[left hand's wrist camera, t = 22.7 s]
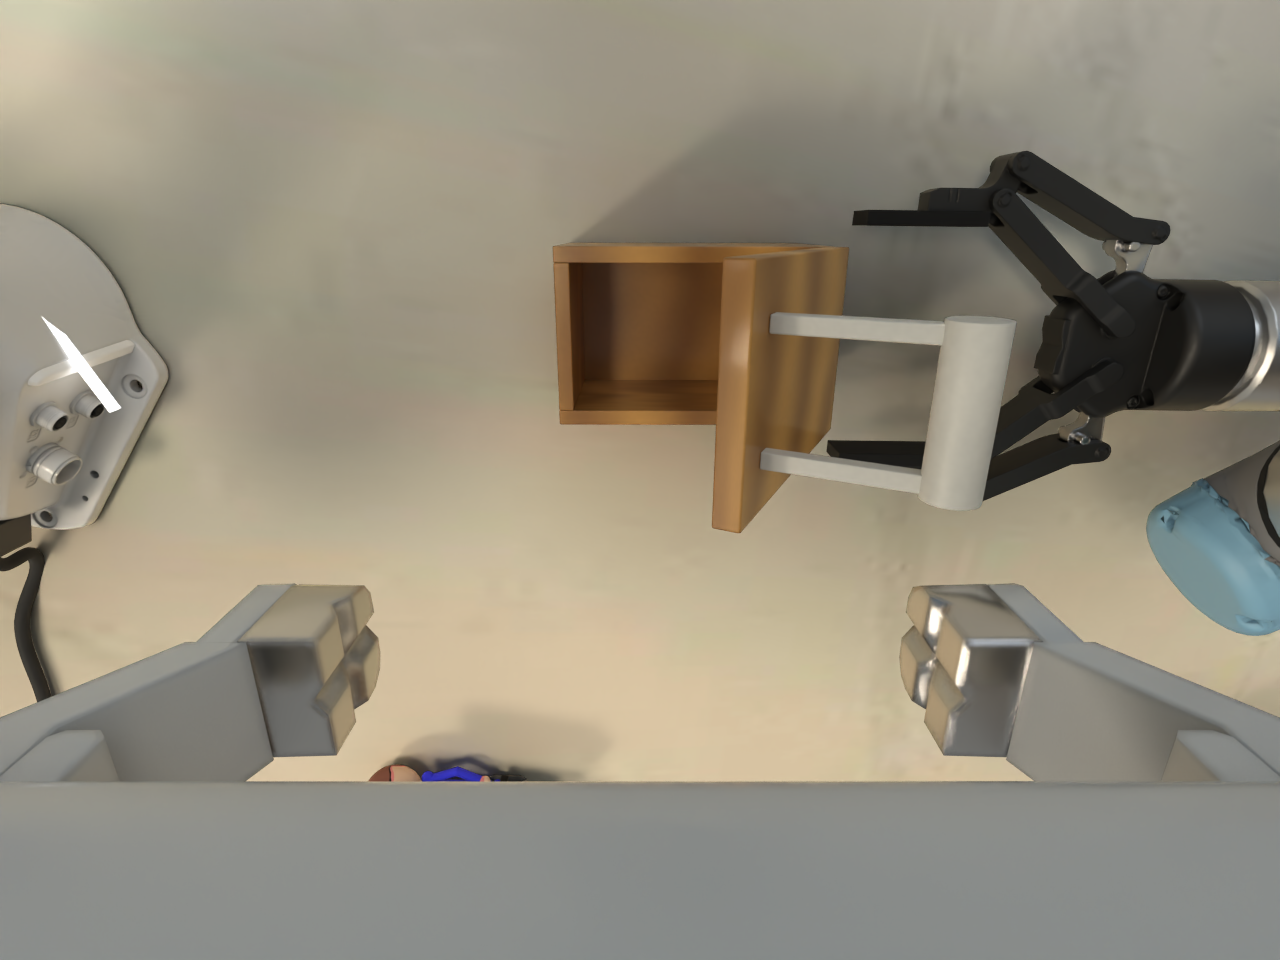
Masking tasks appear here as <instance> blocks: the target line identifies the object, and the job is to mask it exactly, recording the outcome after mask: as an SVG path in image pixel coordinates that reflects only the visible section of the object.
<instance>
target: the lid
mask: <svg viewBox="0 0 1280 960" xmlns="http://www.w3.org/2000/svg"><path fill="white" fill-rule="evenodd" d="M848 255H849V248H848V247H822V248H812V249H802V250H792V251H782V252H772V253H763V254H753V255H743V256H733V257H725V258H724V259H723V275H722V299H721V323H720V346H719V370H718V394H717V417H716V441H715V465H714V488H713V512H712V528H715V529H720V530H725V531H730V532H735V533H741V532H742V530H743V529H744V528H745V527H746V526H747V525H748V523H749V522H750V521H751V520H752V519H753V518H754V517H755V515H756V514H757V513H758V512H759V511H760V510H761V508H762V507H763V506H764V505H765V504H766V503H767V502H768V500H769V499H770V498H771V497H772V496H773V495H774V493H775V492H776V491H777V490H778V489H779V488H780V486H781V485H782V484H783V483H784V482H785V481H786V480H787V478H788V477H789V476H790V475H791V474H794V475H800V476H806V477H813V478H819V479H826V480H832V481H838V482H845V483H851V484H858V485H864V486H870V487H877V488H883V489H890V490H896V491H903V492H909V493H915V494H918V498H919V499H920V500H921V501H922V502H924V503H926V504H928V505H931V506H934V507H937V508H941V509H946V510H953V511H970V510H975V509H978V508H979V507H981V505H982V501H983V496H984V491H985V486H986V480H987V475H988V470H989V465H990V460H991V454H992V449H993V444H994V439H995V434H996V428H997V423H998V418H999V413H1000V407H1001V402H1002V397H1003V392H1004V387H1005V381H1006V376H1007V371H1008V366H1009V361H1010V355H1011V350H1012V345H1013V340H1014V334H1015V329H1016V324H1017V322H1016V321H1014V320H1011V319H1006V318H999V317H988V316H950V317H946V318H945V321H929V320H911V319H892V318H874V317H856V316H842V313H843V304H844V294H845V284H846V275H847V265H848ZM840 339H853V340H868V341H882V342H897V343H911V344H926V345H940V346H941V347H940V353H939V360H938V366H937V372H936V379H935V385H934V392H933V398H932V405H931V411H930V418H929V424H928V430H927V437H926V443H925V450H924V456H923V463H922V469H921V470H920V469H913V468H906V467H899V466H892V465H885V464H878V463H871V462H864V461H857V460H850V459H843V458H836V457H829V456H821V455H814V454H809V453H810V452H811V451H812V450H813V448H814V447H815V446H816V445H817V444H818V443H819V441H820V440H821V439H822V438H823V437H824V436H825V434H826V433H827V432H828V431H829V430H830V428H831V420H832V410H833V400H834V391H835V381H836V371H837V362H838V352H839V342H840Z"/></svg>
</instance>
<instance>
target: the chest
mask: <svg viewBox="0 0 1280 960" xmlns="http://www.w3.org/2000/svg"><path fill="white" fill-rule="evenodd" d="M822 247H833V246H822V245H811V244H800V243H567V244H562V245H557V246H553V262H554V288H555V313H556V337H557V362H558V386H559V409H560V424H656V425H716V417H717V394H718V370H719V346H720V323H721V299H722V275H723V259H724V258H725V257H733V256H743V255H753V254H763V253H772V252H782V251H792V250H802V249H812V248H822Z"/></svg>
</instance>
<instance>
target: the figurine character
mask: <svg viewBox="0 0 1280 960" xmlns="http://www.w3.org/2000/svg"><path fill="white" fill-rule="evenodd" d="M456 776H457V777H460V778H462V779H465V780H456V779H449V778H452V777H456ZM490 779H491V780H490ZM524 780H526V778H524V777H523V776H521V775H493V776H491V777H488V776H481V775H479V774H476V773H473V772H471V771H468V770H465V769H463V768H460V767H455V768H451V769H447V770H444V771H440V772H437V773H432V772H431V771H426V772H424V773H423V775H422V781H421V779H420V777H419V775H418V774H417V773H416V772H415V771H414V770H413V769H411V768H410V767H408V766H405V765H398V764H397V765H390V766H386V767H384V768H382V769H380V770H379V771H377V772H376V773H375V774H374V775H373V776H372V777H371V778H370V779H369V781H368V782H492V781H494V782H522V781H524Z"/></svg>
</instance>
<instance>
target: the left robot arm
mask: <svg viewBox="0 0 1280 960" xmlns="http://www.w3.org/2000/svg"><path fill="white" fill-rule="evenodd" d="M137 380H138V381H139V382H140V383H141V384H142V387H143V389H141V388H139V386H138V385H137ZM167 380H168V369H167V366H166V364H165V362H164V361H163V359H162V358H161V357H160V355H159V354H158V353H157V351H156V350H155V349H154V348H153V347H152V345H151V344H150V343H149V342H148V341H147V340H146V338H145V337H144V336H143V335H142V334H141V332H140V331H139V329H138V327H137V325H136V323H135V320H134V318H133V315H132V313H131V310H130V308H129V305H128V303H127V300H126V298H125V296H124V294H123V292H122V290H121V288H120V286H119V285H118V283H117V281H116V280H115V278H114V277H113V275H112V274H111V272H110V271H109V270H108V268H107V267H106V266H105V264H104V263H103V262H102V261H101V260H100V258H99V257H98V256H97V255H96V254H95V253H94V252H93V251H92V250H91V249H90V248H89V247H88V246H87V245H86V244H85V243H84V242H82V241H81V240H80V239H79V238H78V237H76V236H75V235H74V234H72V233H71V232H70V231H68V230H67V229H65V228H64V227H62V226H61V225H59V224H58V223H56V222H54V221H52V220H50V219H48V218H46V217H44V216H42V215H40V214H37V213H35V212H33V211H30V210H27V209H24V208H20V207H16V206H12V205H6V204H0V571H8V570H11V569H13V568H15V567H17V566H19V565H21V564H22V563H24V562H26V561H27V560H28V561H29V564H30V569H29V574H28V577H27V580H26V582H25V585H24V588H23V590H22V593H21V595H20V598H19V601H18V605H17V609H16V613H15V620H14V630H15V638H16V643H17V647H18V650H19V654H20V657H21V660H22V662H23V665H24V668H25V670H26V672H27V675H28V677H29V680H30V682H31V685H32V688H33V690H34V693H35V696H36V699H37V703H35V704H32V705H30V706H27V707H25V708H23V709H20V710H18V711H15V712H13V713H10V714H8V715H5V716H3V717H0V960H1280V718H1279V717H1277V716H1274V715H1272V714H1269V713H1267V712H1264V711H1262V710H1259V709H1257V708H1255V707H1252V706H1250V705H1247V704H1245V703H1242V702H1240V701H1237V700H1235V699H1233V698H1230V697H1228V696H1225V695H1223V694H1220V693H1218V692H1215V691H1213V690H1211V689H1208V688H1206V687H1203V686H1201V685H1198V684H1196V683H1193V682H1191V681H1188V680H1186V679H1184V678H1181V677H1179V676H1176V675H1174V674H1171V673H1169V672H1166V671H1164V670H1162V669H1159V668H1157V667H1154V666H1152V665H1149V664H1147V663H1144V662H1142V661H1140V660H1137V659H1135V658H1132V657H1130V656H1127V655H1125V654H1122V653H1120V652H1118V651H1115V650H1113V649H1110V648H1108V647H1105V646H1103V645H1100V644H1098V643H1095V642H1083V641H1082V640H1081V639H1080V638H1079V637H1078V636H1077V635H1076V634H1074V633H1073V632H1072V631H1071V630H1070V629H1069V628H1068V627H1067V626H1066V625H1065V624H1064V623H1063V622H1061V621H1060V620H1059V619H1058V618H1057V617H1056V616H1055V615H1054V614H1053V613H1052V612H1051V611H1050V610H1048V609H1047V608H1046V607H1045V606H1044V605H1043V604H1042V603H1041V602H1040V601H1039V600H1038V599H1037V598H1035V597H1034V596H1033V595H1032V594H1031V593H1030V592H1029V591H1028V590H1027V589H1026V588H1025V587H1024V586H1021V585H1018V584H1014V583H1012V584H989V585H986V584H973V585H931V586H917V587H913V588H912V590H911V593H910V595H909V597H908V603H907V608H906V613H907V615H908V616H909V618H910V619H911V621H912V622H913V624H914V626H913V627H912V628H911V629H910V630H909V631H908V632H907V633H906V634H905V635H904V636H903V637H902V640H901V649H900V657H899V658H900V668H901V677H902V680H903V683H904V686H905V689H906V691H907V693H908V695H909V696H910V698H911V700H912V701H913V702H915V703H916V704H918V705H920V706H921V707H923V708H924V709H926V713H925V719H924V723H925V724H926V726H927V728H928V730H929V731H930V733H931V735H932V736H933V738H934V740H935V741H936V743H937V745H938V747H939V748H940V750H941V752H942V753H943V755H947V756H984V757H1007V758H1006V760H1007V761H1008V762H1010V763H1011V764H1012V765H1014V766H1015V767H1016V768H1018V769H1019V770H1020V771H1022V772H1023V773H1024V774H1026V775H1027V776H1028V777H1030V778H1031V779H1032V780H1034V781H746V782H245V781H246V780H248V779H249V778H250V777H252V776H253V775H254V774H256V773H257V772H258V771H260V770H261V769H262V768H264V767H265V766H266V765H268V764H269V763H270V762H272V761H273V760H274V759H273V757H295V756H331V755H337V754H338V752H339V750H340V748H341V747H342V745H343V743H344V742H345V740H346V738H347V736H348V735H349V733H350V731H351V730H352V728H353V726H354V724H355V723H356V719H355V713H354V709H356V708H357V707H359V706H360V705H362V704H364V703H365V702H367V701H368V700H369V698H370V696H371V694H372V693H373V691H374V689H375V687H376V683H377V679H378V675H379V670H380V647H379V640H378V637H377V636H376V635H375V634H374V633H373V632H372V631H371V630H370V629H369V628H368V627H367V626H366V624H367V622H368V621H369V619H370V618H371V616H372V615H373V613H374V609H373V604H372V599H371V594H370V592H369V590H368V589H367V588H366V587H365V586H364V585H311V584H299V585H297V584H265V585H258V586H257V587H256V588H254V589H253V590H252V591H251V592H250V593H249V594H248V595H247V596H246V597H245V598H244V599H243V600H241V601H240V602H239V603H238V604H237V605H236V606H235V607H234V608H233V609H232V610H231V611H230V612H228V613H227V614H226V615H225V616H224V617H223V618H222V619H221V620H220V621H219V622H218V623H216V624H215V625H214V626H213V627H212V628H211V629H210V630H209V631H208V632H207V633H206V634H205V635H203V636H202V637H201V638H200V639H199V640H198V641H197V642H185V643H182V644H180V645H177V646H175V647H172V648H170V649H167V650H165V651H162V652H160V653H158V654H155V655H153V656H150V657H148V658H145V659H143V660H140V661H138V662H135V663H133V664H131V665H128V666H126V667H123V668H121V669H118V670H116V671H113V672H111V673H108V674H106V675H104V676H101V677H99V678H96V679H94V680H91V681H89V682H86V683H84V684H81V685H79V686H77V687H74V688H72V689H69V690H67V691H64V692H62V693H59V694H57V695H54V696H51V693H50V690H49V686H48V684H47V681H46V678H45V676H44V673H43V670H42V668H41V665H40V663H39V660H38V658H37V655H36V652H35V649H34V646H33V642H32V637H31V631H30V614H31V609H32V605H33V602H34V599H35V597H36V594H37V591H38V589H39V584H40V580H41V575H42V572H43V568H44V564H45V562H44V556H43V554H42V553H41V552H40V551H39V550H38V549H36V548H31V547H27V548H24V549H21V550H19V551H17V552H16V553H14V554H12V555H10V556H9V557H7V558H1V556H3V555H5V554H7V553H9V552H11V551H13V550H15V549H17V548H19V547H21V546H23V545H25V544H27V543H29V542H30V541H31V540H32V536H31V526H33V527H38V528H45V529H58V530H67V529H77V528H82V527H85V526H87V525H90V524H92V523H94V522H95V520H96V519H97V518H98V516H99V514H100V512H101V510H102V508H103V506H104V505H105V503H106V501H107V499H108V497H109V495H110V493H111V491H112V489H113V487H114V485H115V483H116V481H117V479H118V477H119V475H120V473H121V471H122V469H123V467H124V465H125V463H126V461H127V459H128V457H129V456H130V454H131V452H132V450H133V448H134V446H135V444H136V442H137V440H138V438H139V436H140V434H141V432H142V430H143V428H144V426H145V424H146V422H147V420H148V418H149V416H150V414H151V412H152V410H153V408H154V406H155V405H156V403H157V401H158V399H159V397H160V395H161V393H162V391H163V389H164V387H165V385H166V383H167ZM49 513H50V514H51V515H52V516H50V514H49Z"/></svg>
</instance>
